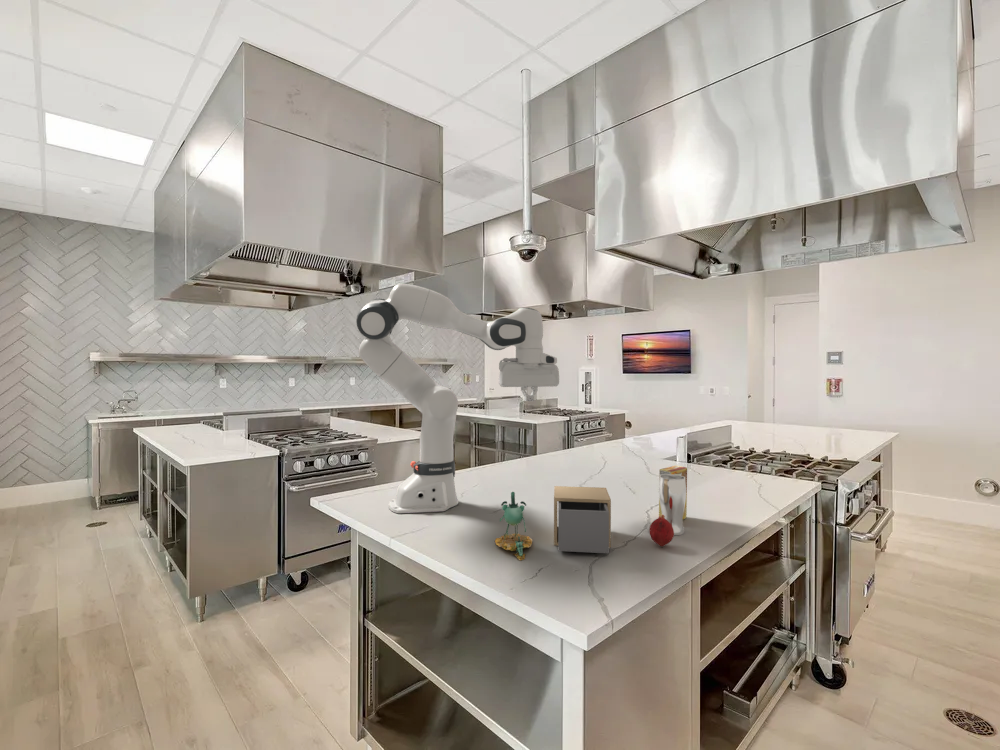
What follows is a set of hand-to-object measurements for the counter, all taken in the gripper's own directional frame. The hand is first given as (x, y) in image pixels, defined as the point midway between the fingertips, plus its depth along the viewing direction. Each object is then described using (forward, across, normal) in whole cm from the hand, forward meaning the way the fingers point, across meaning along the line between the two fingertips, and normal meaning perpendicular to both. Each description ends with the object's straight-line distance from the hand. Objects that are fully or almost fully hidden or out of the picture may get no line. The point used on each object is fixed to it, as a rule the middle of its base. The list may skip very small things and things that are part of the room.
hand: (529, 400), depth 153 cm
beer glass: (+34, +27, -36) cm, 57 cm away
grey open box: (+33, 0, -34) cm, 47 cm away
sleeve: (+34, +1, -32) cm, 47 cm away
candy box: (+34, +34, -28) cm, 56 cm away
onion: (+34, +17, -44) cm, 58 cm away
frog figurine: (+35, -18, -31) cm, 50 cm away
